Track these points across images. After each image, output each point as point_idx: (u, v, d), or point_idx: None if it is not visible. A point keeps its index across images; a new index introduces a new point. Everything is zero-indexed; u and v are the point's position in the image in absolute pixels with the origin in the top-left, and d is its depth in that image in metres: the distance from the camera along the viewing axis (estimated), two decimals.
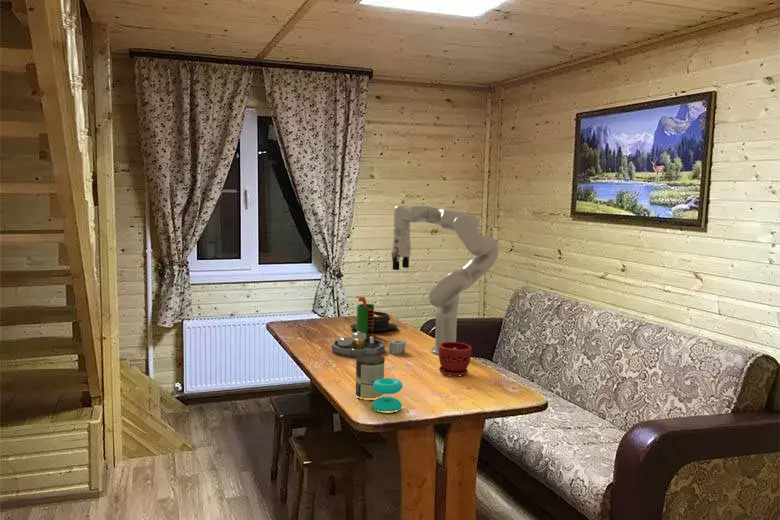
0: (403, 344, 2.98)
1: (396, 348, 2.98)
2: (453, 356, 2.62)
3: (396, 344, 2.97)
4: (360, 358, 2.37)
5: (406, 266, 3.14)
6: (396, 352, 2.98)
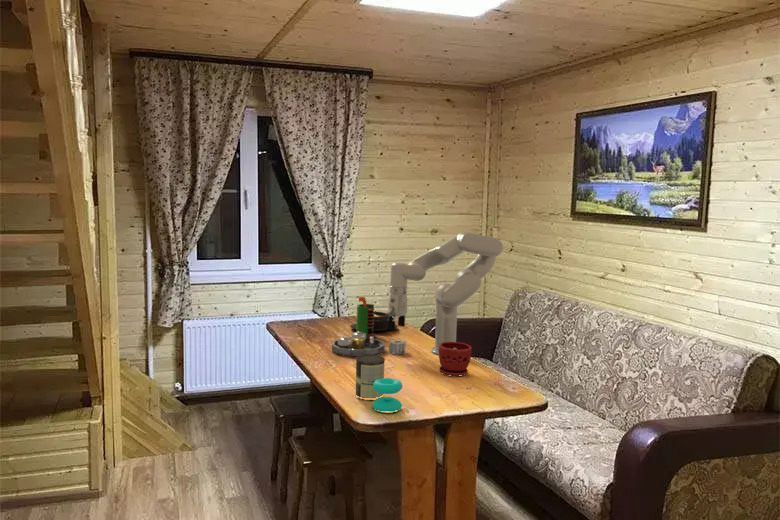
0: (403, 344, 2.98)
1: (396, 348, 2.98)
2: (453, 356, 2.62)
3: (396, 344, 2.97)
4: (360, 358, 2.37)
5: (402, 325, 3.03)
6: (396, 352, 2.98)
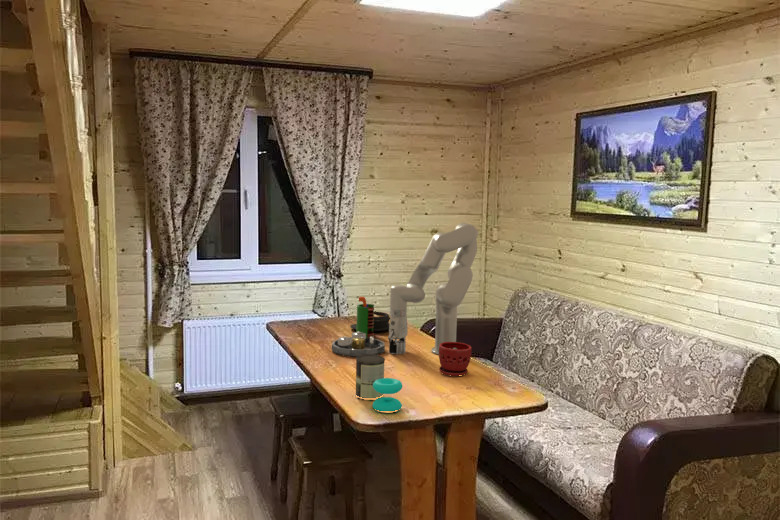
0: (403, 344, 2.98)
1: None
2: (453, 356, 2.62)
3: (396, 344, 2.97)
4: (360, 358, 2.37)
5: None
6: (396, 352, 2.98)
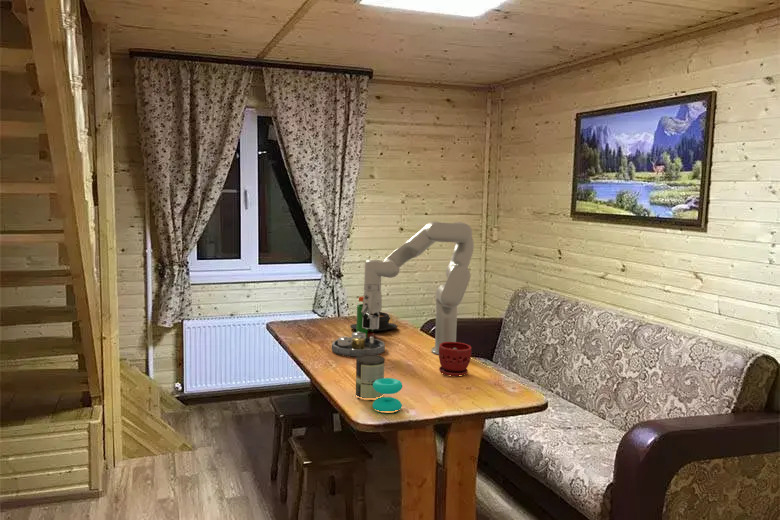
0: (376, 319, 2.96)
1: None
2: (453, 356, 2.62)
3: None
4: (360, 358, 2.37)
5: None
6: None
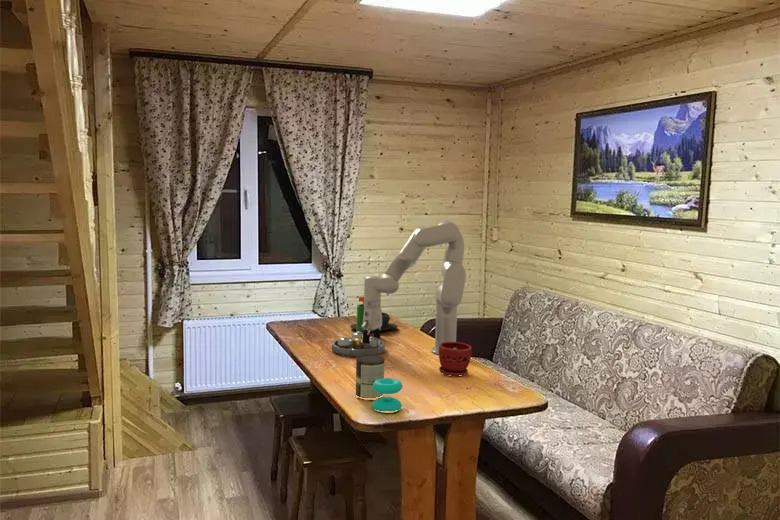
0: (377, 341, 2.98)
1: (370, 345, 2.97)
2: (453, 356, 2.62)
3: (370, 341, 2.97)
4: (360, 358, 2.37)
5: (377, 337, 3.03)
6: None
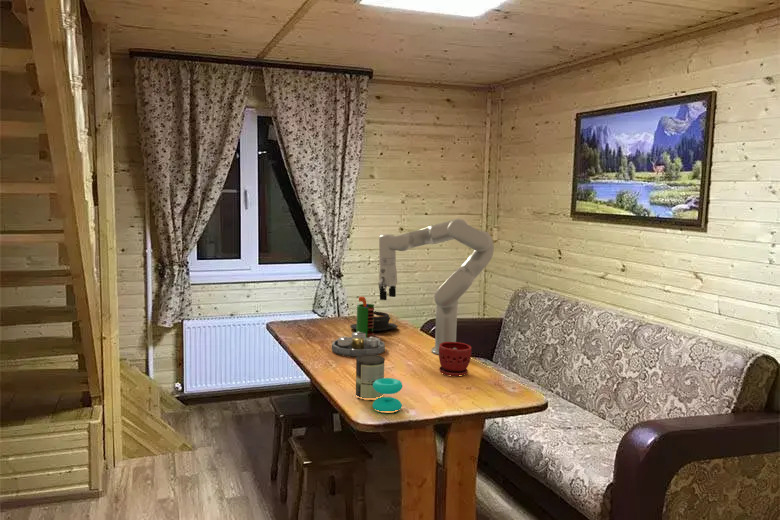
0: (377, 341, 2.98)
1: (370, 345, 2.97)
2: (453, 356, 2.62)
3: (370, 341, 2.97)
4: (360, 358, 2.37)
5: (393, 295, 3.10)
6: None
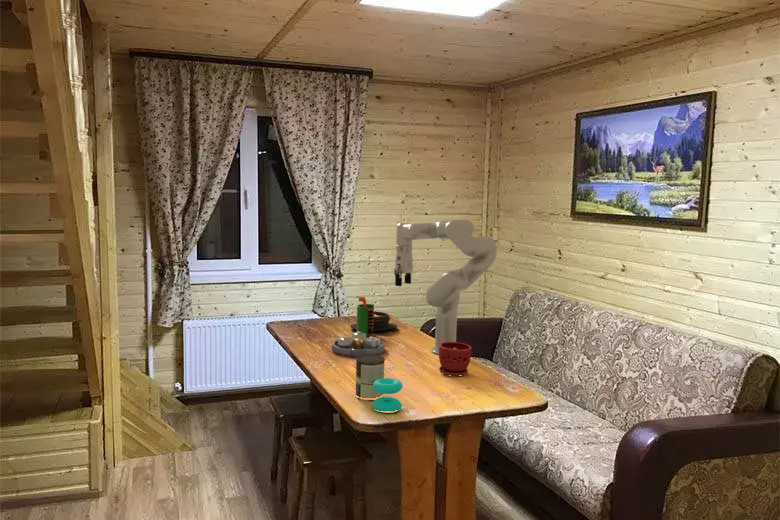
0: (377, 341, 2.98)
1: (370, 345, 2.97)
2: (453, 356, 2.62)
3: (370, 341, 2.97)
4: (360, 358, 2.37)
5: (408, 282, 3.20)
6: None
